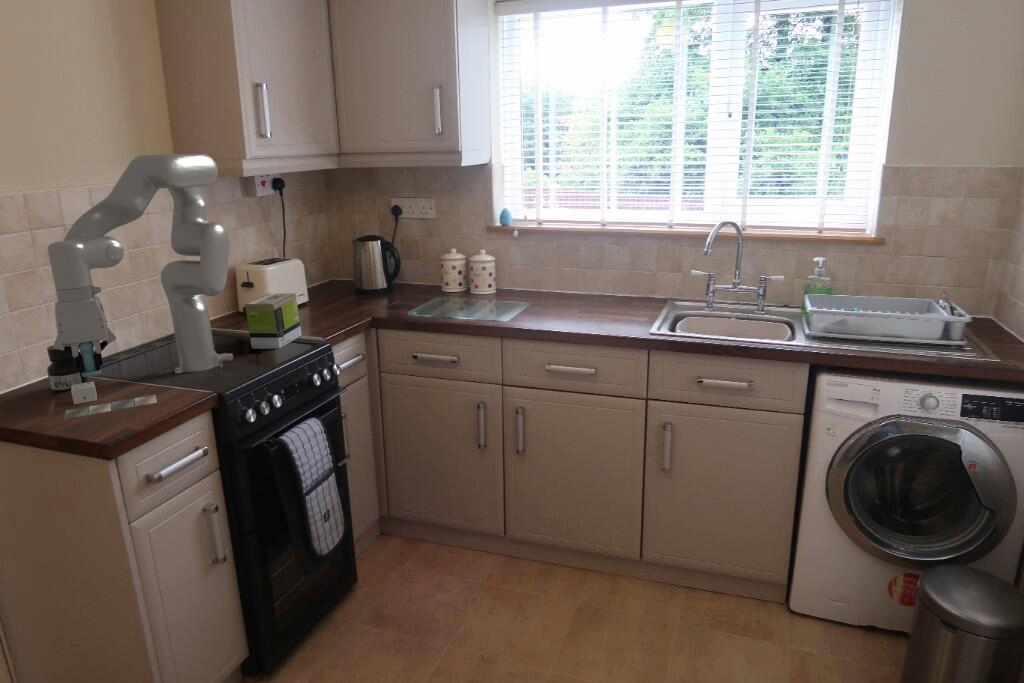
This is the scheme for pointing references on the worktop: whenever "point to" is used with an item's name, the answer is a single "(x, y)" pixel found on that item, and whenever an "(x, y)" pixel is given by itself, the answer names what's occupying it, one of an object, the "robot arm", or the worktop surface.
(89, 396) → the die
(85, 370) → the pawn
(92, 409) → the board
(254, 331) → the tea box
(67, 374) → the ink bottle
